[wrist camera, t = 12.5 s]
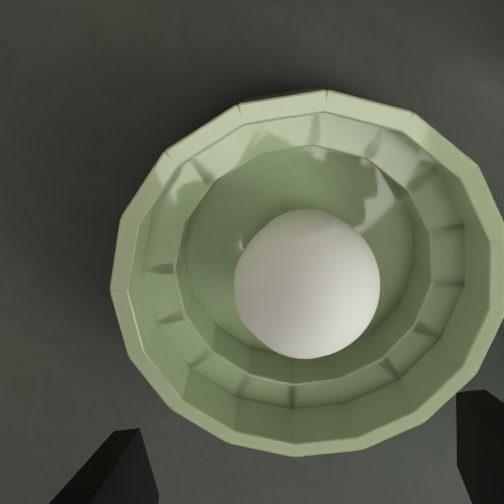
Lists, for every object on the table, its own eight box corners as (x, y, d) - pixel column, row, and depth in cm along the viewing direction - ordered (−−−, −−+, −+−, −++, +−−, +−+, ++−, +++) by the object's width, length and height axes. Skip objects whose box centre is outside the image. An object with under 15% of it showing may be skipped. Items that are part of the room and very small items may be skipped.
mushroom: (239, 192, 17) (229, 233, 13) (369, 196, 17) (409, 239, 13) (237, 312, 19) (228, 387, 14) (356, 316, 19) (386, 393, 14)
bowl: (181, 394, 21) (159, 471, 17) (113, 119, 17) (63, 131, 13) (454, 362, 20) (504, 436, 16) (450, 64, 16) (516, 58, 12)
